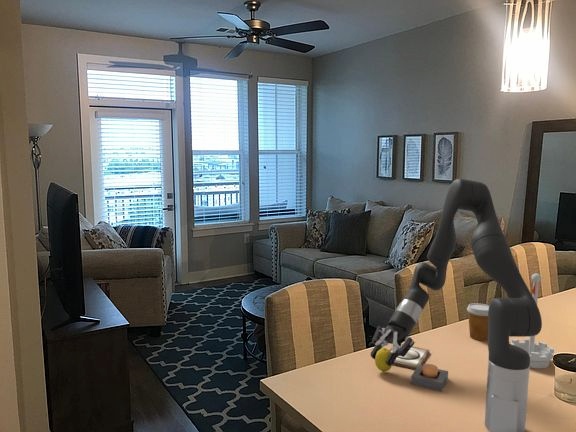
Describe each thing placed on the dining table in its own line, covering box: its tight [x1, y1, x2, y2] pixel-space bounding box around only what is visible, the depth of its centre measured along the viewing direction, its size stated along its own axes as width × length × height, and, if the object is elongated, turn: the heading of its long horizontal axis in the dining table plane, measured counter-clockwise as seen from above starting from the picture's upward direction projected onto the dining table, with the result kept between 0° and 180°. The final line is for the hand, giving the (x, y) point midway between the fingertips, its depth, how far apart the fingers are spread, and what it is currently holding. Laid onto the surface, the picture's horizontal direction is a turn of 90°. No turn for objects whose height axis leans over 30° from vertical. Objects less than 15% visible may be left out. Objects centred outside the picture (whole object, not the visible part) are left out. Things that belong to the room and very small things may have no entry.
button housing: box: [410, 365, 449, 392], centre depth 142 cm, size 9×9×2 cm
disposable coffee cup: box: [466, 302, 490, 341], centre depth 177 cm, size 10×10×12 cm
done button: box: [422, 363, 439, 378], centre depth 142 cm, size 4×4×2 cm
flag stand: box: [509, 273, 555, 369], centre depth 155 cm, size 13×13×30 cm
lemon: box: [374, 347, 394, 373], centre depth 148 cm, size 6×6×8 cm
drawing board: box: [388, 343, 431, 371], centre depth 160 cm, size 16×12×1 cm
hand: (380, 360), depth 146 cm, fingers closed on lemon, 5 cm apart
